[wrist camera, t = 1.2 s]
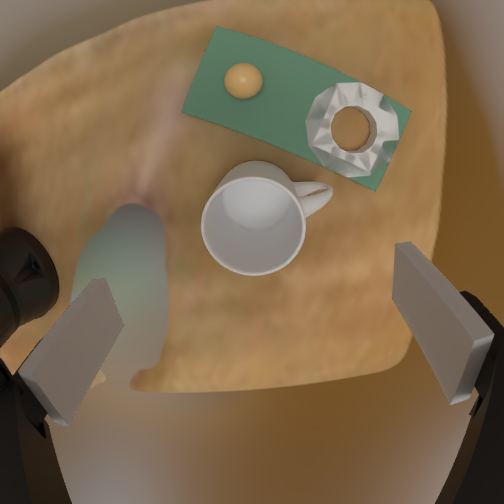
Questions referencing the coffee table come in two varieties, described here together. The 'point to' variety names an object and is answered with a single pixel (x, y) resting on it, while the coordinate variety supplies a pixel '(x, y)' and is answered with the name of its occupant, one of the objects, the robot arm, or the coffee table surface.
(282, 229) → the mug
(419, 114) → the coffee table surface
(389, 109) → the putting strip
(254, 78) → the ball
